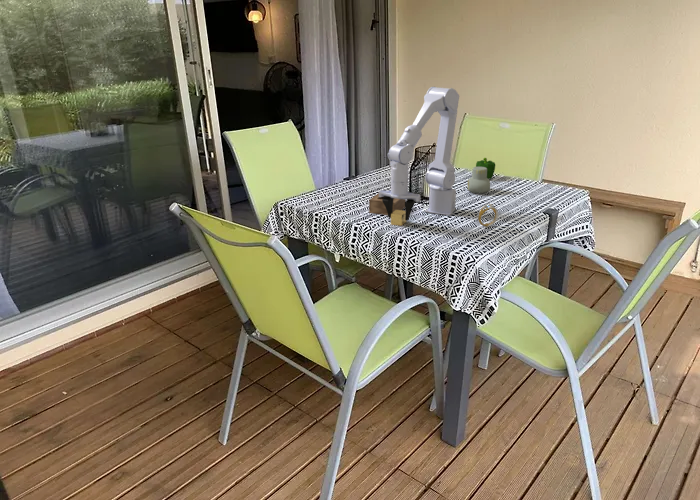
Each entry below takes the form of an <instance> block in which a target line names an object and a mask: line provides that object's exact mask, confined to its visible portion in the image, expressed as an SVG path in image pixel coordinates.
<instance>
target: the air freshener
mask: <svg viewBox="0 0 700 500" xmlns="http://www.w3.org/2000/svg"><path fill="white" fill-rule="evenodd" d="M490 181H491V179H488V178H487V168H485V167H476V166H474V167H472V171H471V177H470V178H468V179H467V190H468V191H469V192H470V193H472V194H486V193H487V192H490V189H491V182H490Z"/></svg>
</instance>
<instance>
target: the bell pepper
mask: <svg viewBox="0 0 700 500" xmlns="http://www.w3.org/2000/svg"><path fill="white" fill-rule="evenodd" d="M475 167H485V168H487V178H488V179H489V180H491V179H492V178H493V176H494V174H495V170H496V163H495V162H494V161H492V160H488V159H487V157H484V158H483V159H482V160H479V161H476V163H475Z"/></svg>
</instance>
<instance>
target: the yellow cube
mask: <svg viewBox="0 0 700 500" xmlns="http://www.w3.org/2000/svg"><path fill="white" fill-rule="evenodd" d="M405 214H406V210H403V209H402V210H395V211H394V212H393V213H391V218H390V225H391V226H400V227H402V226H403V225H405V223H407V222H408V221H406V220H405Z"/></svg>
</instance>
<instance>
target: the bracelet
mask: <svg viewBox="0 0 700 500" xmlns="http://www.w3.org/2000/svg"><path fill="white" fill-rule="evenodd" d="M488 210H492V211H493V213H494V216H493V220H492V221H491V222H490V223H487V222H486V223H483V221H482V217H483V215H484V214H485V212H487V211H488ZM498 217H499V212H498V209H497V208H496V207H495V205H494V204H492V203H486V204H484V205H483V206H482V207H481V208H480V209H479V211H478V215H477V221H478V223H479V224H480V225H481V226H483V227H486V228H489V227H491V226H492V225H494V224H495V223H496V222H497V220H498Z"/></svg>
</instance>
